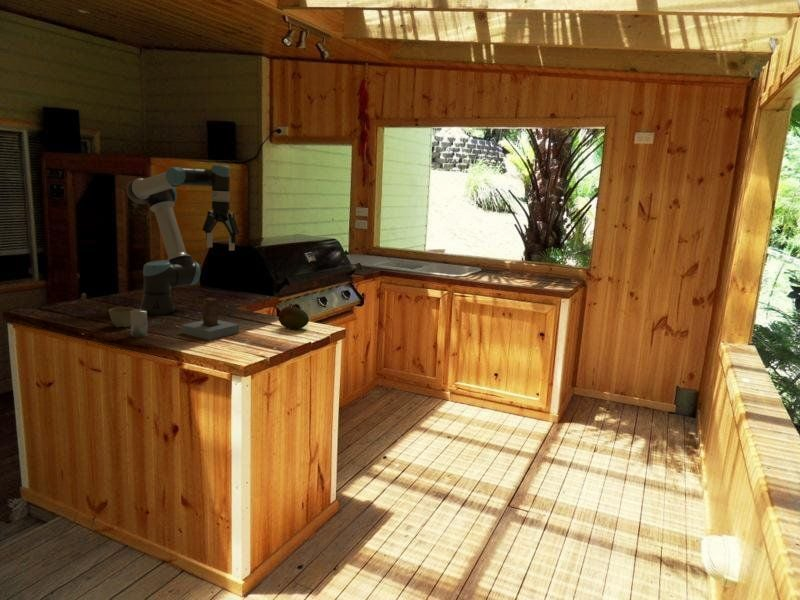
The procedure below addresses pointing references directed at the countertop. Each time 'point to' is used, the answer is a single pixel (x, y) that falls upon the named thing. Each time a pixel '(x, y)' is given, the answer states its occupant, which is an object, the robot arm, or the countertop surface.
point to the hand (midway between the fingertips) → (220, 248)
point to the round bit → (138, 323)
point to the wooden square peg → (210, 312)
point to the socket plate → (210, 329)
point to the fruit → (293, 318)
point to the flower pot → (121, 316)
